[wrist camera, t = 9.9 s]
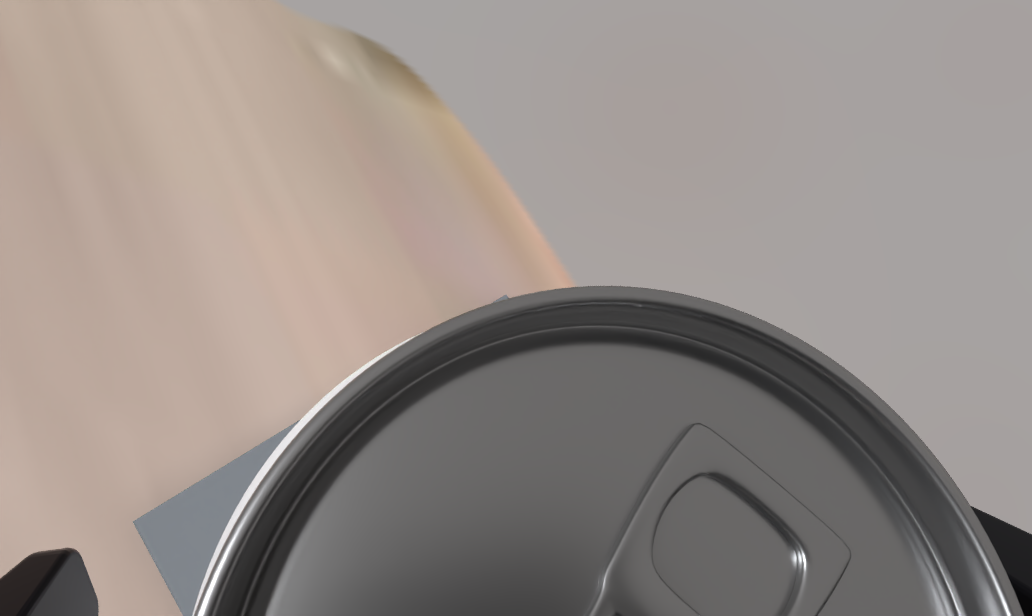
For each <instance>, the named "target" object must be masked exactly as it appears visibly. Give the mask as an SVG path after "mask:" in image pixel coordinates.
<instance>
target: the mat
mask: <svg viewBox="0 0 1032 616" xmlns="http://www.w3.org/2000/svg"><path fill="white" fill-rule="evenodd" d="M505 299H509V298H508V297H507V295H504V296H503V297H501V298H499V299H498V300H496V301H495V302H498V301H501V300H505ZM495 302H493V303H495ZM491 304H492V303H491ZM299 421H300V420H299ZM299 421H297V422H296V423H294V424H293V425H291V426H289V427H288V428H286V429H284V430H283V431H281V432H279V433H278V434H276V435H274V436H273V437H271V438H270V439H268V440H266V441H265V442H263V443H261V444H260V445H258V446H256V447H255V448H253V449H251V450H250V451H248V452H247V453H245V454H243V455H242V456H240V457H238V458H237V459H235V460H233V461H232V462H230V463H228V464H227V465H225V466H224V467H222V468H220V469H219V470H217V471H215V472H214V473H212V474H210V475H209V476H207V477H206V478H204V479H202V480H201V481H199V482H197V483H196V484H194V485H192V486H191V487H189V488H187V489H186V490H184V491H183V492H181V493H179V494H178V495H176V496H174V497H173V498H171V499H169V500H168V501H166V502H164V503H163V504H161V505H160V506H158V507H156V508H155V509H153V510H151V511H150V512H148V513H146V514H145V515H143V516H141V517H140V518H138V519H137V520H135V521H133V523H134V525H135V527H136V529H137V531H138V532H139V534H140V536H141V538H142V540H143V542H144V544H145V545H146V547H147V549H148V551H149V553H150V555H151V557H152V558H153V560H154V562H155V564H156V566H157V568H158V570H159V572H160V573H161V575H162V577H163V579H164V581H165V583H166V585H167V586H168V588H169V590H170V592H171V594H172V596H173V598H174V599H175V601H176V603H177V605H178V607H179V609H180V611H181V613H182V614H183V616H192V615H193V611H194V608H195V604H196V601H197V598H198V595H199V592H200V589H201V586H202V583H203V580H204V578H205V575H206V572H207V569H208V567H209V564H210V562H211V559H212V557H213V555H214V552H215V550H216V547H217V545H218V543H219V541H220V539H221V537H222V535H223V533H224V530H225V528H226V526H227V524H228V522H229V521H230V519H231V517H232V515H233V513H234V511H235V509H236V507H237V506H238V504H239V502H240V501H241V499H242V497H243V495H244V494H245V492H246V490H247V489H248V487H249V486H250V484H251V483H252V481H253V480H254V478H255V477H256V475H257V473H258V472H259V471H260V469H261V468H262V466H263V465H264V464H265V462H266V461H267V459H268V458H269V457H270V455H271V454H272V453H273V452H274V450H275V449H276V448H277V447H278V445H279V444H280V443H281V441H282V440H283V439H284V438H285V437H286V436H287V434H288V433H289V432H290V431H291V430H292V429H293V428H294V426H295V425H296V424H297V423H298V422H299Z"/></svg>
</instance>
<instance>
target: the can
mask: <svg viewBox="0 0 1032 616" xmlns="http://www.w3.org/2000/svg"><path fill="white" fill-rule="evenodd" d="M192 616H1024V614H1023V611H1022V609H1021V606H1020V604H1019V601H1018V599H1017V596H1016V594H1015V591H1014V589H1013V587H1012V585H1011V582H1010V580H1009V578H1008V575H1007V573H1006V571H1005V569H1004V567H1003V565H1002V563H1001V561H1000V559H999V557H998V554H997V552H996V551H995V549H994V547H993V545H992V543H991V541H990V539H989V537H988V535H987V534H986V532H985V530H984V528H983V527H982V525H981V523H980V521H979V520H978V518H977V516H976V515H975V513H974V511H973V510H972V508H971V507H970V505H969V503H968V502H967V500H966V499H965V497H964V496H963V494H962V493H961V491H960V490H959V488H958V487H957V486H956V484H955V482H954V481H953V480H952V478H951V477H950V475H949V474H948V473H947V471H946V470H945V469H944V467H943V466H942V465H941V463H940V462H939V461H938V460H937V458H936V457H935V456H934V455H933V453H932V452H931V451H930V450H929V449H928V447H927V446H926V445H925V444H924V442H922V440H921V439H920V438H919V437H918V436H917V434H915V432H914V431H913V430H912V429H911V428H910V427H909V426H908V425H907V424H906V423H905V422H904V420H903V419H902V418H901V417H900V416H899V415H898V414H897V413H896V412H895V411H894V410H893V409H892V408H891V407H890V406H889V405H888V404H886V403H885V402H884V401H883V400H882V399H881V398H880V397H879V396H878V395H877V394H876V393H874V392H873V391H872V390H871V389H870V388H869V387H867V386H866V385H865V384H864V383H863V382H861V381H860V380H859V379H858V378H856V377H855V376H854V375H853V374H851V373H850V372H849V371H847V370H846V369H845V368H843V367H842V366H841V365H839V364H838V363H836V362H835V361H834V360H832V359H831V358H829V357H828V356H826V355H825V354H823V353H822V352H820V351H819V350H817V349H816V348H814V347H812V346H811V345H809V344H807V343H806V342H804V341H802V340H801V339H799V338H797V337H795V336H793V335H792V334H790V333H787V332H786V331H784V330H782V329H780V328H778V327H776V326H774V325H772V324H770V323H768V322H766V321H763V320H761V319H759V318H756V317H754V316H752V315H749V314H747V313H744V312H742V311H739V310H736V309H733V308H730V307H728V306H724V305H722V304H719V303H715V302H711V301H708V300H704V299H701V298H697V297H692V296H688V295H684V294H680V293H674V292H669V291H662V290H656V289H648V288H638V287H623V286H586V287H571V288H561V289H554V290H547V291H541V292H535V293H530V294H525V295H521V296H517V297H513V298H509V299H505V300H501V301H498V302H495V303H492V304H488V305H485V306H482V307H480V308H477V309H474V310H471V311H469V312H466V313H464V314H461V315H459V316H456V317H454V318H452V319H449V320H447V321H445V322H443V323H441V324H439V325H437V326H435V327H432V328H431V329H429V330H427V331H425V332H423V333H420V334H418V335H416V336H414V337H412V338H410V339H408V340H406V341H404V342H402V343H400V344H398V345H396V346H395V347H393V348H391V349H389V350H388V351H386V352H384V353H383V354H381V355H379V356H378V357H376V358H374V359H373V360H371V361H370V362H368V363H367V364H365V365H364V366H362V367H361V368H360V369H358V370H357V371H356V372H354V373H353V374H351V375H350V376H349V377H347V378H346V379H345V380H344V381H342V382H341V383H340V384H339V385H337V386H336V387H335V388H334V389H333V390H331V391H330V392H329V393H328V394H327V395H326V396H325V397H324V398H322V399H321V400H320V401H319V402H318V403H317V404H316V405H315V406H314V407H313V408H312V409H311V410H310V411H309V412H308V413H307V414H306V415H305V416H304V417H303V418H302V419H301V420H300V421H299V422H298V423H297V424H296V425H295V426H294V428H293V429H292V430H291V431H290V432H289V433H288V434H287V436H286V437H285V438H284V439H283V440H282V441H281V443H280V444H279V445H278V447H277V448H276V449H275V450H274V452H273V453H272V454H271V455H270V457H269V458H268V459H267V461H266V462H265V464H264V465H263V466H262V468H261V469H260V471H259V472H258V473H257V475H256V477H255V478H254V480H253V481H252V483H251V484H250V486H249V487H248V489H247V490H246V492H245V494H244V495H243V497H242V499H241V501H240V502H239V504H238V506H237V507H236V509H235V511H234V513H233V515H232V517H231V519H230V521H229V522H228V524H227V526H226V528H225V530H224V533H223V535H222V537H221V539H220V541H219V543H218V545H217V547H216V550H215V552H214V555H213V557H212V559H211V562H210V564H209V567H208V569H207V572H206V575H205V578H204V580H203V583H202V586H201V589H200V592H199V595H198V598H197V601H196V604H195V608H194V611H193V615H192Z"/></svg>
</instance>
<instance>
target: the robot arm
mask: <svg viewBox="0 0 1032 616" xmlns="http://www.w3.org/2000/svg"><path fill="white" fill-rule="evenodd" d="M970 507H971V508H972V510H973V511H974V513H975V515H976V516H977V518H978V520H979V521H980V523H981V525H982V527H983V528H984V530H985V532H986V534H987V535H988V537H989V539H990V541H991V543H992V545H993V547H994V549H995V551H996V552H997V554H998V557H999V559H1000V561H1001V563H1002V565H1003V567H1004V569H1005V571H1006V573H1007V575H1008V578H1009V580H1010V582H1011V585H1012V587H1013V589H1014V591H1015V594H1016V596H1017V599H1018V601H1019V604H1020V606H1021V609H1022V611H1023V614H1024V616H1032V534H1029V533H1027V532H1025V531H1023V530H1021V529H1019V528H1017V527H1014V526H1012V525H1010V524H1008V523H1006V522H1004V521H1002V520H1000V519H997V518H995V517H993V516H991V515H989V514H987V513H985V512H982V511H980V510H978V509H976V508H974V507H972V506H970ZM0 616H98V600H97V596H96V593H95V591H94V588H93V586H92V583H91V580H90V578H89V575H88V573H87V570H86V567H85V565H84V562H83V560H82V557H81V555H80V554H79V552H78V551H77V550H75V549H72V548H63V549H55V550H48V551H41V552H36V553H33V554H31V555H29V556H28V557H26V558H25V559H24V560H22V561H21V562H20V563H19V564H18V565H16V566H15V567H14V568H13V569H12V570H10V571H9V572H8V573H7V574H5V575H4V576H3V577H2V578H1V579H0Z"/></svg>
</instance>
